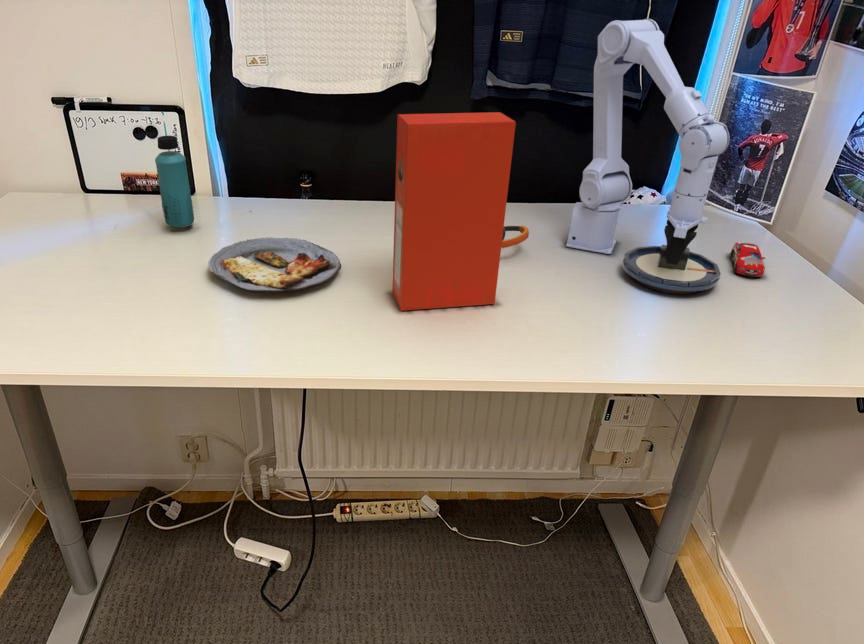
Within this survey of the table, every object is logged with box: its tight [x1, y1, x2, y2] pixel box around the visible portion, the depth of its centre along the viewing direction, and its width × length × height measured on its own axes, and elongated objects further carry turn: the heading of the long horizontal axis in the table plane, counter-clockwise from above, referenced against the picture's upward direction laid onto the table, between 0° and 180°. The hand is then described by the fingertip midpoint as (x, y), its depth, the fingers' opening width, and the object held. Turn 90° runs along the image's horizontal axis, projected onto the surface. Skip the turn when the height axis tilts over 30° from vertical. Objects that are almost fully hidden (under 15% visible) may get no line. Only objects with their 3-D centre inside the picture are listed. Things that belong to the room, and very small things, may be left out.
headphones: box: [501, 225, 530, 249], centre depth 145 cm, size 17×5×20 cm
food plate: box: [208, 236, 342, 293], centre depth 132 cm, size 25×23×4 cm
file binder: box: [391, 111, 517, 312], centre depth 116 cm, size 8×17×32 cm, turn 101°
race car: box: [730, 241, 766, 278], centre depth 139 cm, size 13×5×4 cm, turn 161°
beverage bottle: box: [154, 135, 196, 228], centre depth 146 cm, size 6×7×20 cm
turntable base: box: [635, 279, 698, 295], centre depth 134 cm, size 13×13×2 cm
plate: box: [621, 244, 722, 292], centre depth 132 cm, size 18×18×5 cm
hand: (672, 260), depth 132 cm, fingers closed on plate, 2 cm apart
